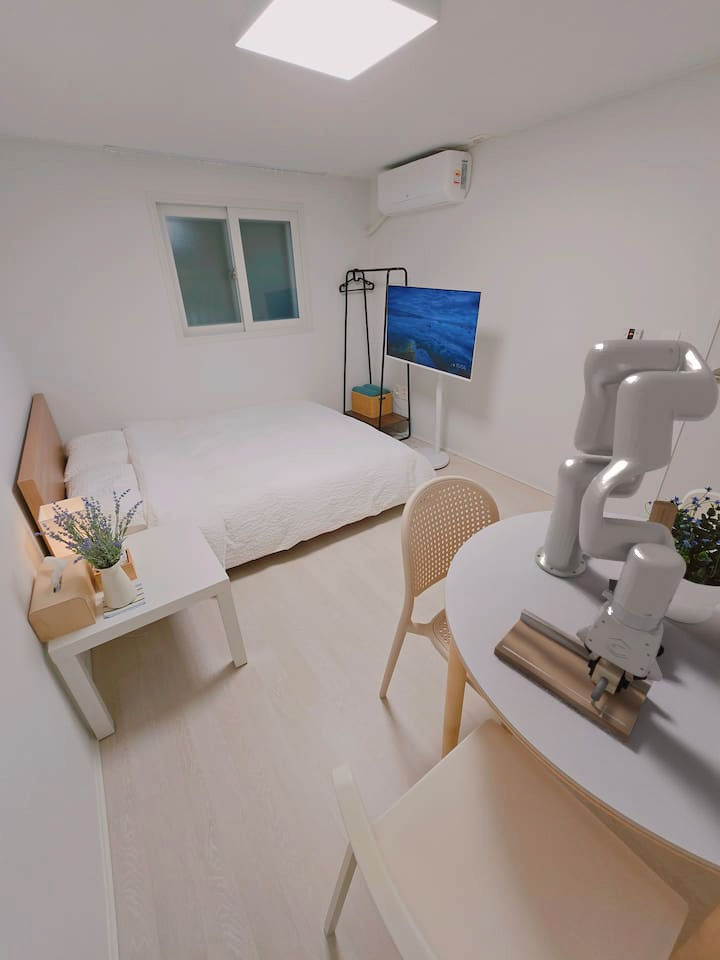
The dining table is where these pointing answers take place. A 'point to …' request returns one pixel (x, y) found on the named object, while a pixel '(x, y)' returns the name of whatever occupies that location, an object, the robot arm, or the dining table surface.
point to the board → (569, 672)
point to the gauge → (605, 678)
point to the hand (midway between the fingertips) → (606, 678)
